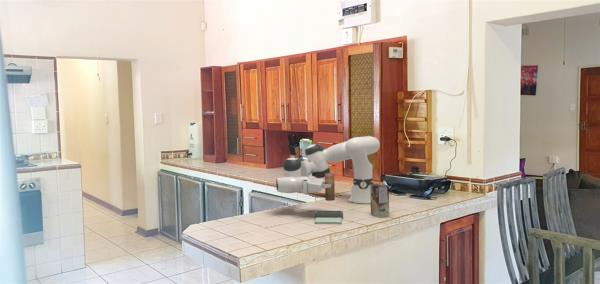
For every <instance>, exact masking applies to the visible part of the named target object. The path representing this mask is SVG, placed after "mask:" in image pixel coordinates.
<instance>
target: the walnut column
mask: <svg viewBox="0 0 600 284" xmlns="http://www.w3.org/2000/svg"><path fill="white" fill-rule="evenodd" d="M324 181H325V184H331V188H324V193H325V196H324V197H325V201H328V202H332V201H335V200H336V195H335V194H336V192H335V187H336V186H335V173H334V172H330V173H325V177H324Z"/></svg>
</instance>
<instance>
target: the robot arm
mask: <svg viewBox="0 0 600 284" xmlns="http://www.w3.org/2000/svg"><path fill="white" fill-rule="evenodd" d="M380 147H381V143H380V141H379V139H378V138H377V137H376V136H375V137H374V136H370V135H366V136H357V137H352V138H349V139H348V140H347V141H346V140H345V141H343V142H340V143H337V144H334V145H331V146H330V147H328V148H325V146H322V145H320V144H316V143H315V144H310V145H309V146H307V147H306V148H305V149H304V153H305V157H306V158H307V159H304V158H302V157H289V158H286V159H285V160H284V161H283V163H282V166H283V176H282V177H277V178H276V180H275V183H276V184H275V185H276V186H275V187H276V188H275V189H276V191H277V192H278V193H283V194H296V193H297V194H309V193H318V192H319V193H320V192H322V190H323V189H325V188H331V184H325V173H331V170H330V169H331V168H330V166H329V163H340V162H343V161H347V160H351V161H352V166H353V180H352V184H353V185H352V186H351V187H350V197H349V198H348V199H347V202H352V203H353V204H371V190H370V184H374V177H373V164H372V163H371V162H370V161H369V158H368V156H369V155H373V154H375V153H377V152H378V151H379V150H380ZM324 148H325V149H324ZM310 176H311V177H314V178H310Z"/></svg>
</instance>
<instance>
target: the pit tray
mask: <svg viewBox="0 0 600 284" xmlns="http://www.w3.org/2000/svg"><path fill="white" fill-rule="evenodd" d="M316 218H342V220H343V219H344V211H343V210H316V211H315V219H316Z"/></svg>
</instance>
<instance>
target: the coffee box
mask: <svg viewBox="0 0 600 284" xmlns="http://www.w3.org/2000/svg"><path fill="white" fill-rule="evenodd" d="M389 187H390V186H389V185H388V184H383V183H373V184H370V190H371V203H370V215H371V216H374V217H378V218H385V217H390V188H389Z"/></svg>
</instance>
